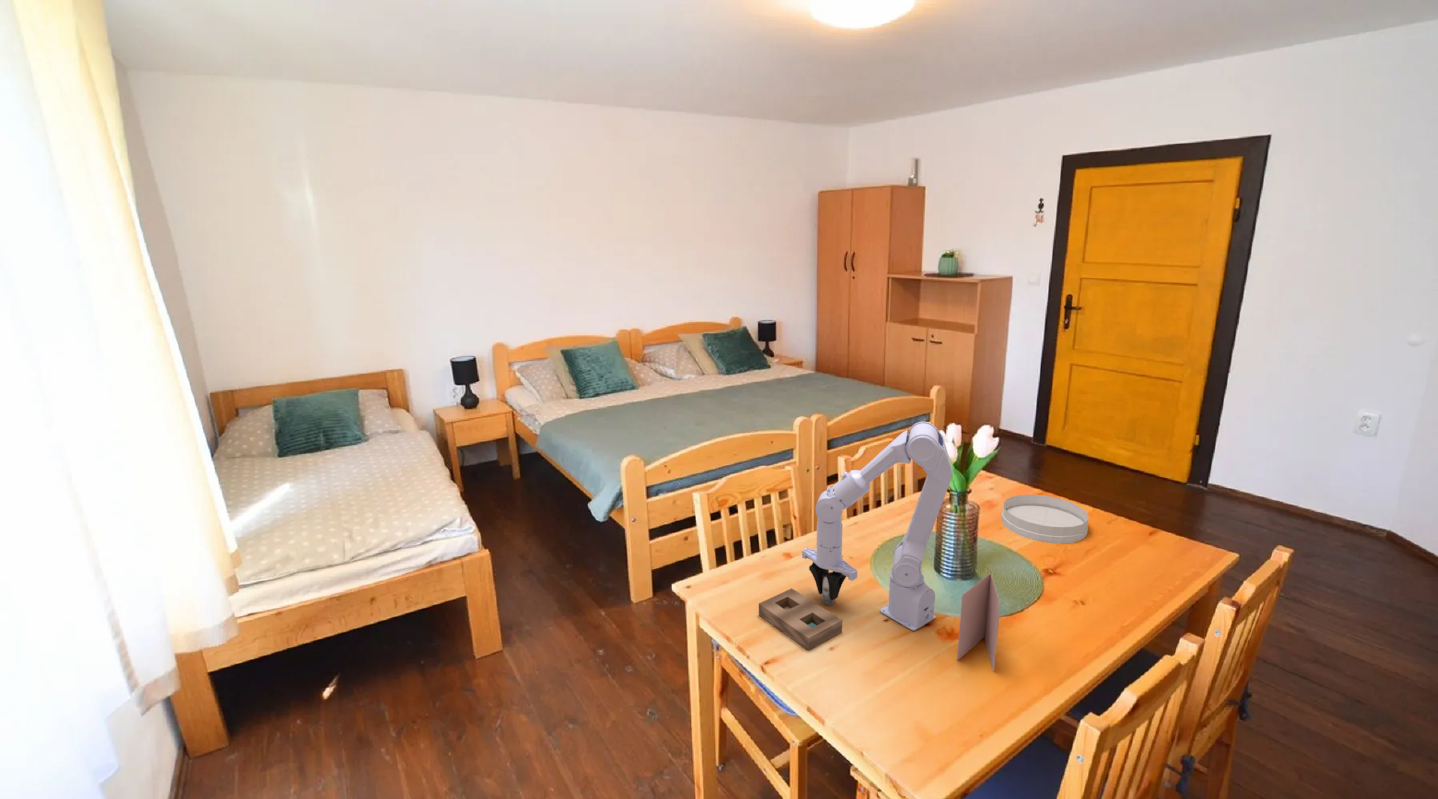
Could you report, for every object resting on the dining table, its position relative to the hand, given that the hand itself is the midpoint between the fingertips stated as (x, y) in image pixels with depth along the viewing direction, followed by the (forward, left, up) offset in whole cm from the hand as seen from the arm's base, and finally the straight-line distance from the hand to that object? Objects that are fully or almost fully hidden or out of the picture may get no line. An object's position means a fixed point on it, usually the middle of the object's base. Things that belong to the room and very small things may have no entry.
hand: (828, 595), depth 149 cm
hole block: (-2, +11, -2) cm, 11 cm away
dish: (-11, -76, -2) cm, 77 cm away
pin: (0, 0, -2) cm, 2 cm away
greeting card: (-33, -11, -2) cm, 35 cm away
